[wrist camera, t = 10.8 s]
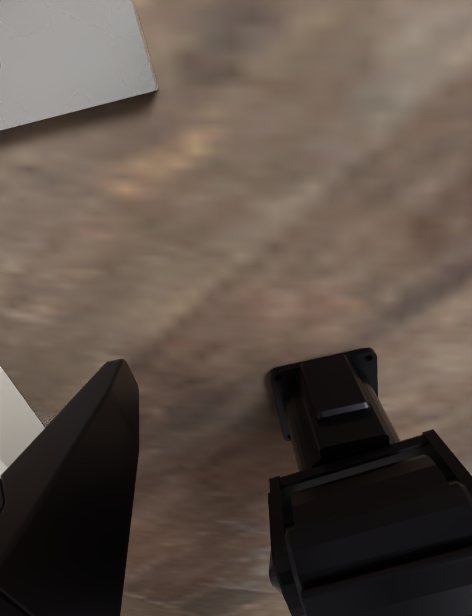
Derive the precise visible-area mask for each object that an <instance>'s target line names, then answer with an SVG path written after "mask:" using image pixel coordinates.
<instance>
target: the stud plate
mask: <svg viewBox="0 0 472 616" xmlns="http://www.w3.org/2000/svg"><path fill="white" fill-rule="evenodd" d="M158 89H159V87H158V84H157V80H156V77H155V73H154V70H153V66H152V63H151V59H150V56H149V52H148V48H147V45H146V41H145V38H144V34H143V31H142V27H141V24H140V20H139V17H138V13H137V10H136V6H135V3H134V0H0V130H4V129H8V128H12V127H16V126H20V125H23V124H27V123H31V122H35V121H39V120H43V119H47V118H51V117H55V116H59V115H63V114H66V113H70V112H74V111H78V110H82V109H86V108H90V107H94V106H98V105H102V104H105V103H109V102H113V101H117V100H121V99H125V98H129V97H133V96H137V95H141V94H145V93H148V92H152V91H156V90H158Z"/></svg>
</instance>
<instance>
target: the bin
mask: <svg viewBox="0 0 472 616" xmlns="http://www.w3.org/2000/svg"><path fill="white" fill-rule="evenodd" d="M44 429H45V427H44V426H43V425H42V423H41V422H40V420H39V419H38V418H37V416H36V415H35V413H34V412H33V411H32V409H31V408H30V407H29V405H28V404H27V402H26V401H25V400H24V398H23V397H22V395H21V394H20V393H19V391H18V390H17V389H16V387H15V386H14V384H13V383H12V382H11V380H10V379H9V377H8V376H7V375H6V373H5V372H4V371H3V369H2V368H1V366H0V479H1V474H2V473H3V472H4V471H5V470H6V469H7V468H8V467H9V466H10V465H11V464H12V463H13V462H14V461H15V459H16V458H17V457H18V456H19V455H20V454H21V453H22V452H23V451H24V450H25V449H26V448H27V447H28V446H29V445H30V443H31V442H32V441H33V440H34V439H35V438H36V437H37V436H38V435H39V434H40V433H41V432H42V431H43V430H44Z"/></svg>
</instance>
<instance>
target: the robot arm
mask: <svg viewBox="0 0 472 616" xmlns="http://www.w3.org/2000/svg"><path fill="white" fill-rule="evenodd" d="M368 355H369V356H368ZM366 356H368V357H366ZM277 375H281V376H279V377H276V376H277ZM270 379H271V384H272V388H273V393H274V397H275V401H276V406H277V410H278V414H279V419H280V423H281V427H282V432H283V436H284V439H285V440H286V441H292V445H293V449H294V453H295V457H296V461H297V465H298V469H299V472H296V473H293V474H290V475H286V476H283V477H280V476H277V477H274V478H270V479H269V482H270V493H268V504H269V520H270V537H271V554H270V565H269V577H270V581H271V584H272V586H273V587H275V588H276V589H277V590H278V591H280V592H281V593H282V594H283V596H284V599H285V601H286V603H287V605H288V608H289V611H290V613H291V615H292V616H472V476H471V475H470V474H469V472H468V471H467V470H466V469H465V467H464V466H463V465H462V464H461V463H460V461H459V460H458V459H457V458H456V457H455V455H454V454H453V453H452V452H451V450H450V449H449V448H448V447H447V446H446V444H445V443H444V442H443V441H442V440H441V438H440V437H439V436H438V435H437V433H436V432H435V431H434V430H429V431H426V432H423V433H422V435H419V436H416V437H413V438H409V439H406V440H403V441H400V439H399V437H398V435H397V433H396V432H395V430H394V428H393V426H392V424H391V422H390V420H389V418H388V416H387V414H386V413H385V411H384V409H383V407H382V405H381V403H380V401H379V399H378V381H377V355H376V353H375V352H374V350H373V349H372V348H363V349H359V350H354V351H350V352H345V353H341V354H336V355H332V356H327V357H323V358H318V359H314V360H309V361H304V362H300V363H295V364H291V365H286V366H282V367H277V368H274V369H273V370H271V372H270ZM138 455H139V389H138V385H137V382H136V380H135V378H134V376H133V374H132V372H131V370H130V368H129V366H128V364H127V362H126V361H125V360H124V359H118V360H113V361H109V362H107V363H105V364H104V365H103V366H102V368H101V369H100V370H99V371H98V372H97V373H96V374H95V375H94V376H93V377H92V378H91V379H90V380H89V381H88V383H87V384H86V385H85V386H84V387H83V388H82V389H81V390H80V391H79V392H78V393H77V394H76V395H75V396H74V397H73V399H72V400H71V401H70V402H69V403H68V404H67V405H66V406H65V407H64V408H63V409H62V410H61V411H60V412H59V414H58V415H57V416H56V417H55V418H54V419H53V420H52V421H51V422H50V423H49V424H48V425H47V426H46V427H45V429H44V430H43V431H42V432H41V433H40V434H39V435H38V436H37V437H36V438H35V439H34V440H33V441H32V442H31V443H30V445H29V446H28V447H27V448H26V449H25V450H24V451H23V452H22V453H21V454H20V455H19V456H18V457H17V458H16V459H15V461H14V462H13V463H12V464H11V465H10V466H9V467H8V468H7V469H6V470H5V471H4V472H3V473H2V474H1V479H0V616H120V612H121V604H122V595H123V586H124V578H125V569H126V560H127V551H128V543H129V534H130V525H131V517H132V508H133V499H134V491H135V482H136V473H137V464H138Z"/></svg>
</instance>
